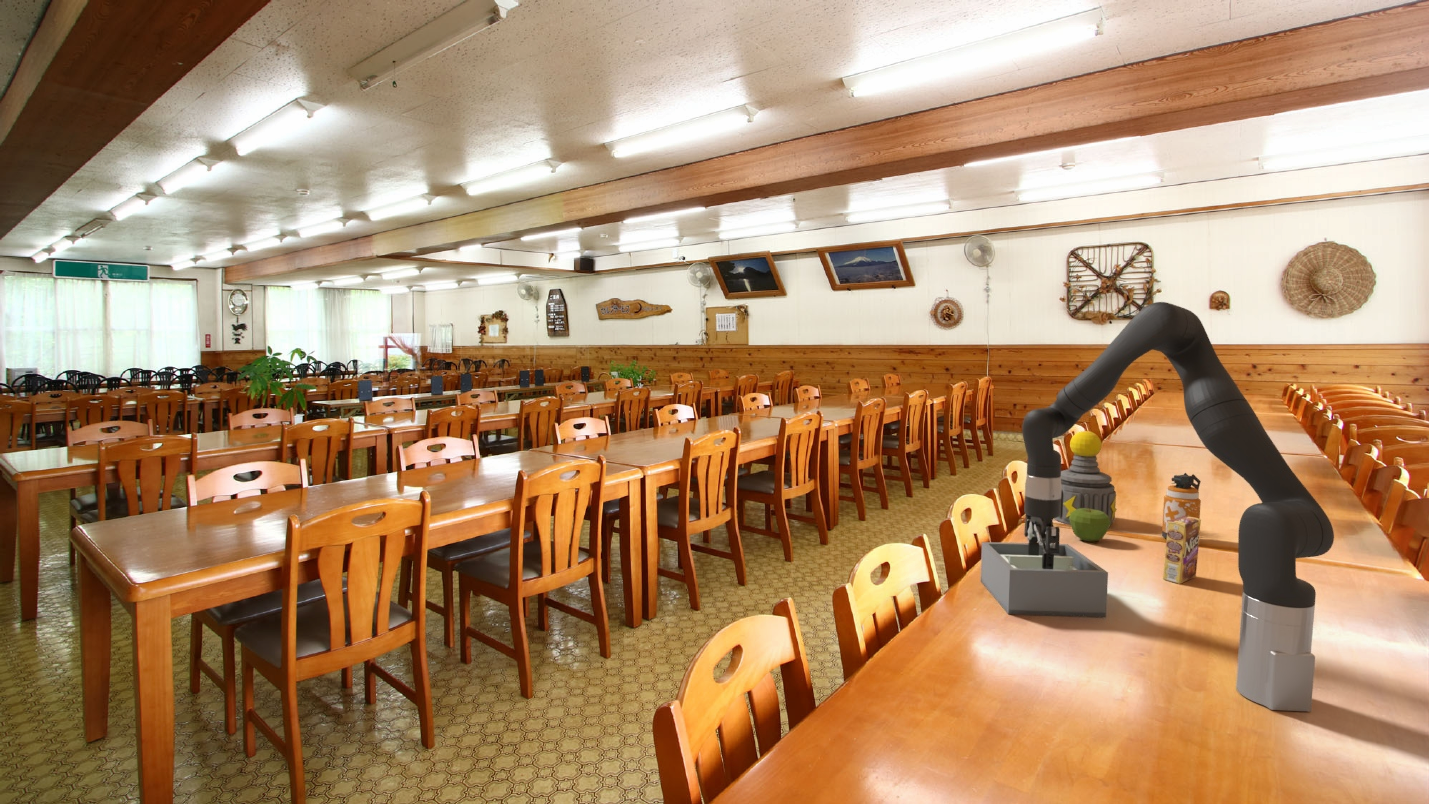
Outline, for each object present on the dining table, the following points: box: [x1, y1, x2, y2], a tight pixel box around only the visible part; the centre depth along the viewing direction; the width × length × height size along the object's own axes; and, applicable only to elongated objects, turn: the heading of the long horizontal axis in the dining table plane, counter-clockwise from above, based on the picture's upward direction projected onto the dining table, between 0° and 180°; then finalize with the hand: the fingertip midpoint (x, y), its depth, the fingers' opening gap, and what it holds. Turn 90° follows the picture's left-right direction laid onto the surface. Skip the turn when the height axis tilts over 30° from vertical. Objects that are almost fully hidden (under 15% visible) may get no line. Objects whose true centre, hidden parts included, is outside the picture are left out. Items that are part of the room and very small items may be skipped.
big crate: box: [980, 541, 1109, 618], centre depth 157 cm, size 20×20×10 cm
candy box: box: [1162, 516, 1202, 585], centre depth 169 cm, size 9×4×15 cm, turn 123°
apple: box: [1069, 508, 1111, 543], centre depth 201 cm, size 11×10×10 cm
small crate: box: [1000, 554, 1077, 570], centre depth 157 cm, size 14×14×9 cm
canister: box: [1161, 472, 1202, 540], centre depth 201 cm, size 9×11×20 cm
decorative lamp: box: [1053, 430, 1117, 526], centre depth 223 cm, size 19×19×30 cm
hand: (1040, 563), depth 156 cm, fingers open, 8 cm apart
